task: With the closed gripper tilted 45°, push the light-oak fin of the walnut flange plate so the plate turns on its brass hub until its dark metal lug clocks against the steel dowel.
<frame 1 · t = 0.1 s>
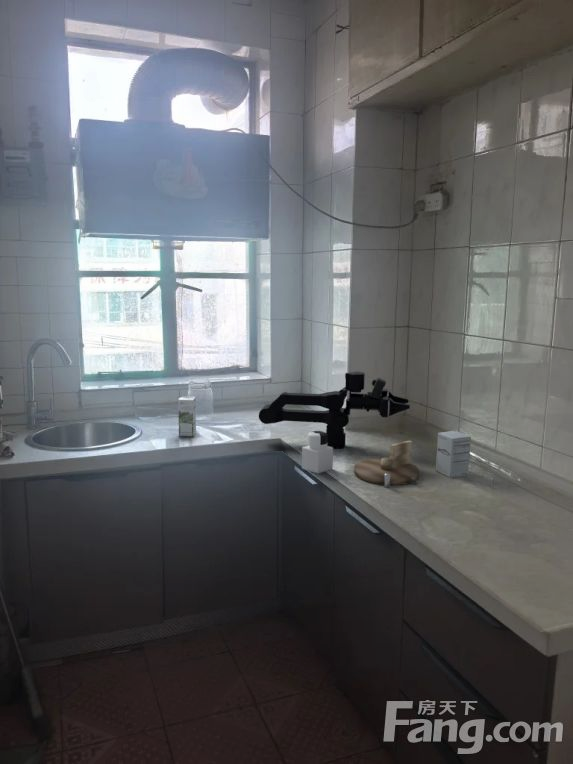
hand: (409, 403, 211), 17 cm above the worktop, tool horizontal, fingers open, 9 cm apart
syrup box: (187, 435, 230), on the worktop
medicine bottle: (317, 469, 193), on the worktop
steel dowel: (386, 486, 178), on the worktop
walnut flange plate: (389, 460, 187), point 5 cm above the worktop, hinge at 0.0°
supplement box: (451, 473, 190), on the worktop
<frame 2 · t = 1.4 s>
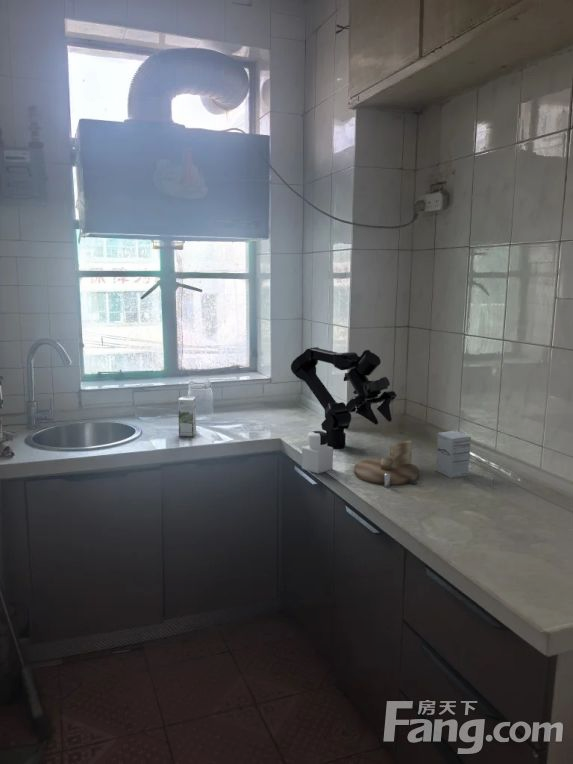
hand: (384, 422, 197), 14 cm above the worktop, tool tilted 45°, fingers open, 6 cm apart
nothing on the worktop moved.
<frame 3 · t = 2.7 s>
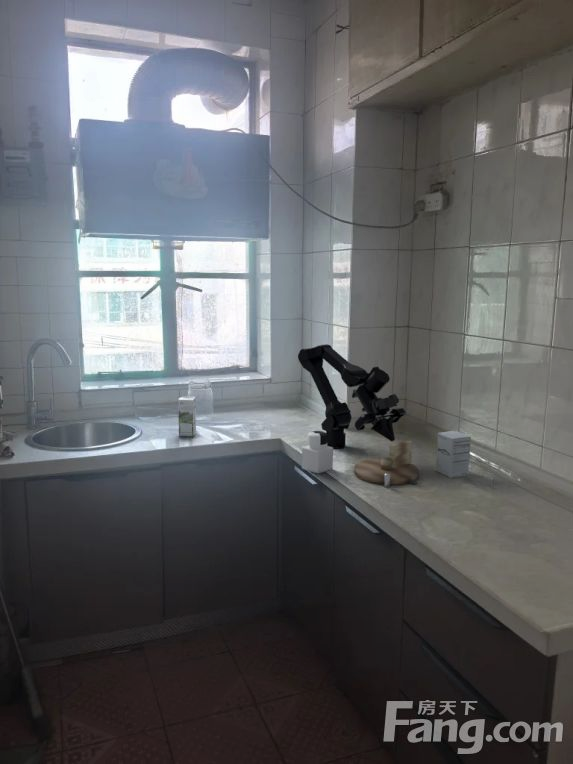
hand: (393, 440, 194), 9 cm above the worktop, tool tilted 45°, fingers closed
nothing on the worktop moved.
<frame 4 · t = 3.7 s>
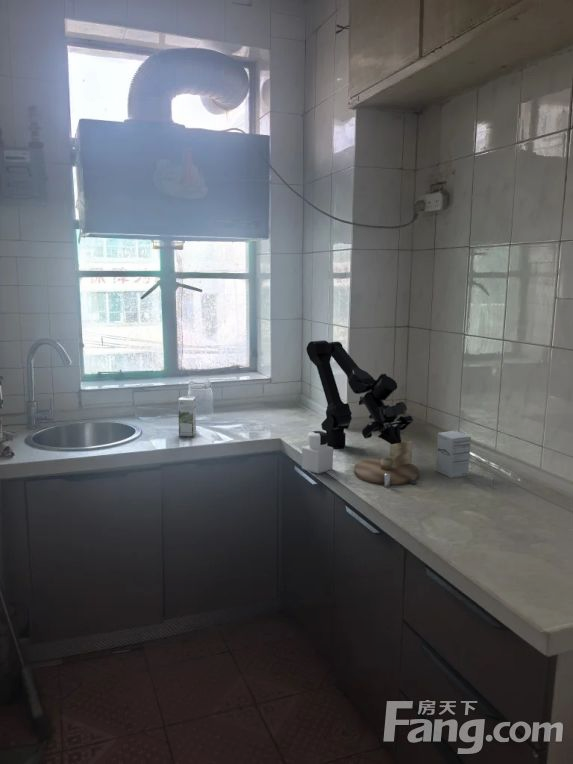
hand: (401, 448, 192), 7 cm above the worktop, tool tilted 45°, fingers closed, pressing on walnut flange plate
walnut flange plate: (389, 460, 187), point 5 cm above the worktop, hinge at 0.5°, touching gripper
everything else where it was.
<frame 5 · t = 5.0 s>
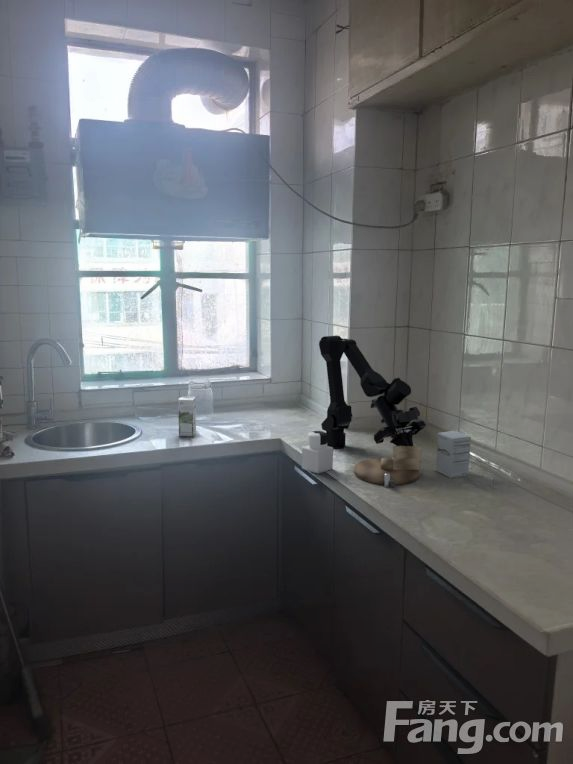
hand: (413, 455, 188), 6 cm above the worktop, tool tilted 45°, fingers closed
walnut flange plate: (388, 460, 187), point 5 cm above the worktop, hinge at 38.3°, touching gripper, steel dowel
everything else where it was.
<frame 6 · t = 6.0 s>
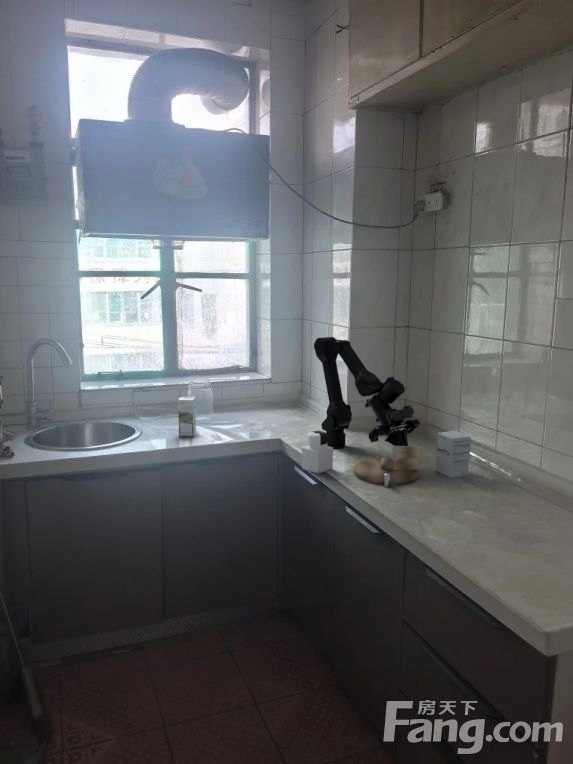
hand: (407, 453, 190), 6 cm above the worktop, tool tilted 45°, fingers closed
walnut flange plate: (388, 460, 187), point 5 cm above the worktop, hinge at 38.3°, touching steel dowel
everything else where it was.
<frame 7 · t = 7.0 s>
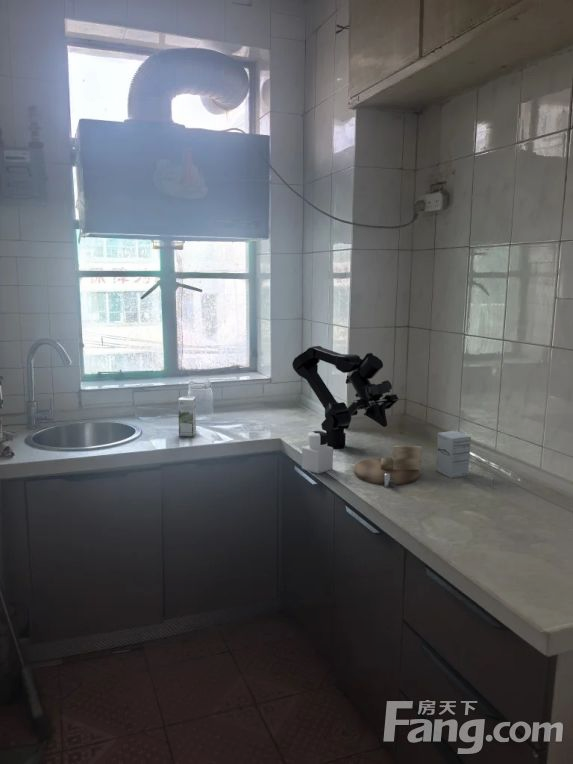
hand: (385, 426, 196), 13 cm above the worktop, tool tilted 45°, fingers closed
nothing on the worktop moved.
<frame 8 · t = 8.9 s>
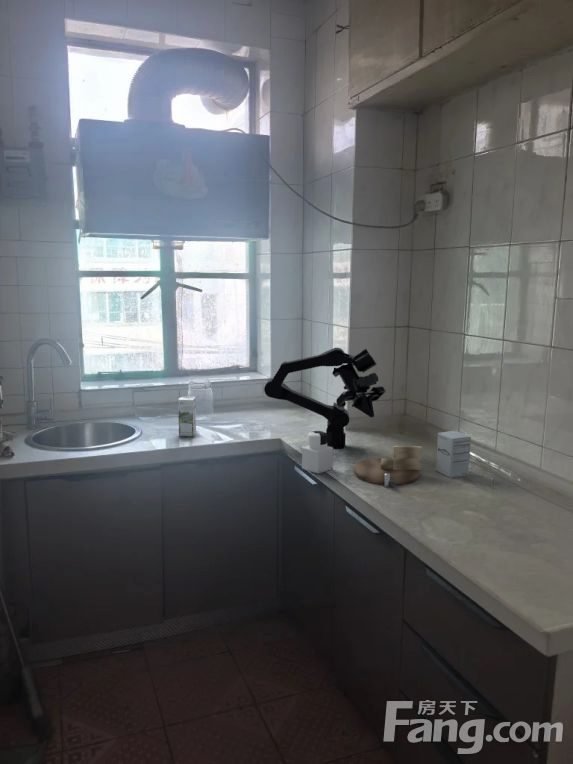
hand: (372, 416, 205), 14 cm above the worktop, tool tilted 45°, fingers closed
nothing on the worktop moved.
at the end: walnut flange plate at +38° (first picture: +0°); supplement box moved 0.2 cm from its start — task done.
